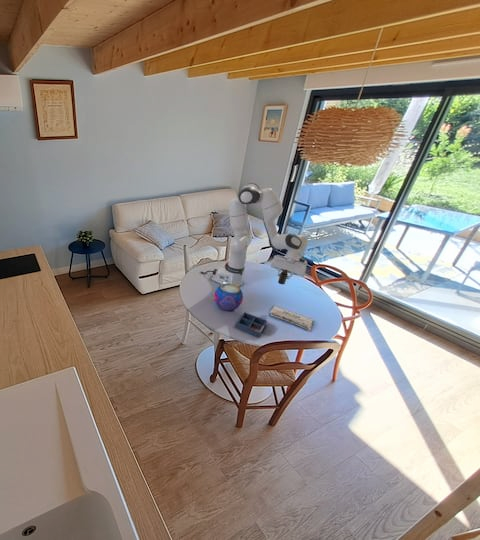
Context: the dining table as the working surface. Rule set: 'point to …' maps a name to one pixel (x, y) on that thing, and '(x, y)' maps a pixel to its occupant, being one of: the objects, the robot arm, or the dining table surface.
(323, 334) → the dining table surface
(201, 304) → the dining table surface
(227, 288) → the ceramic pot
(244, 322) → the grid
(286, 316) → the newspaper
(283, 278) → the dark brown cylinder
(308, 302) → the dining table surface
